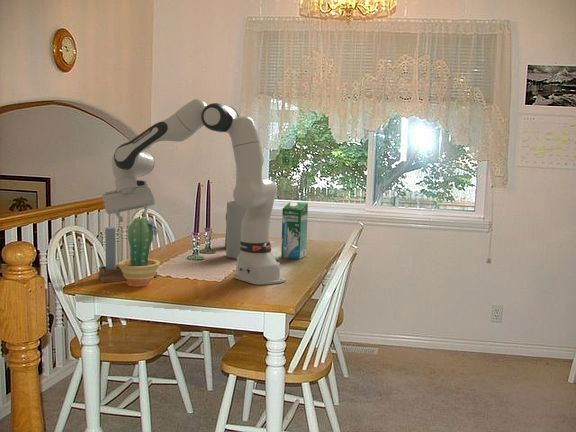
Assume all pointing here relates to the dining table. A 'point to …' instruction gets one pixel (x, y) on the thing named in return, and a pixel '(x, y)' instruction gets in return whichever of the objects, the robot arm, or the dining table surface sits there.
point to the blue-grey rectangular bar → (110, 247)
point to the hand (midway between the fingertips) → (133, 218)
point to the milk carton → (294, 230)
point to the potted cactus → (140, 254)
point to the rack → (112, 274)
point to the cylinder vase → (234, 228)
